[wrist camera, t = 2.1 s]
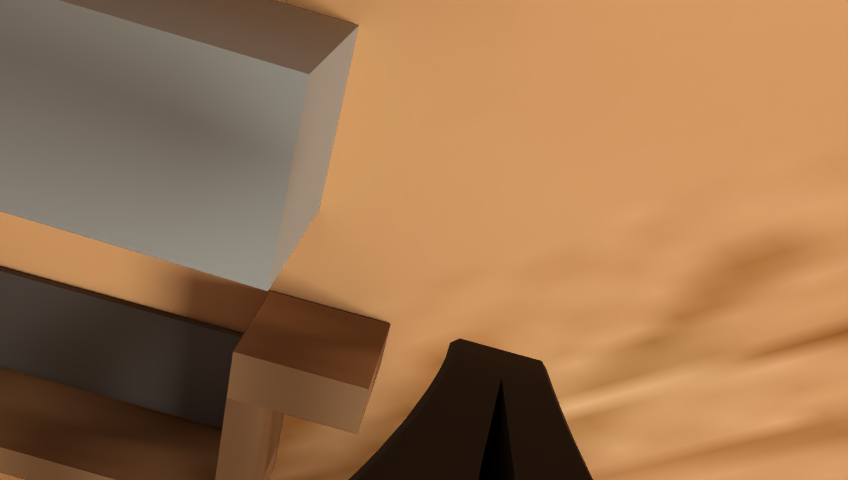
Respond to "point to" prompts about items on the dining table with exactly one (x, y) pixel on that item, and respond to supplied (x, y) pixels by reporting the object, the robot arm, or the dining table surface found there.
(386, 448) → the robot arm
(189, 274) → the dining table surface
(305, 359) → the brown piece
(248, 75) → the block
